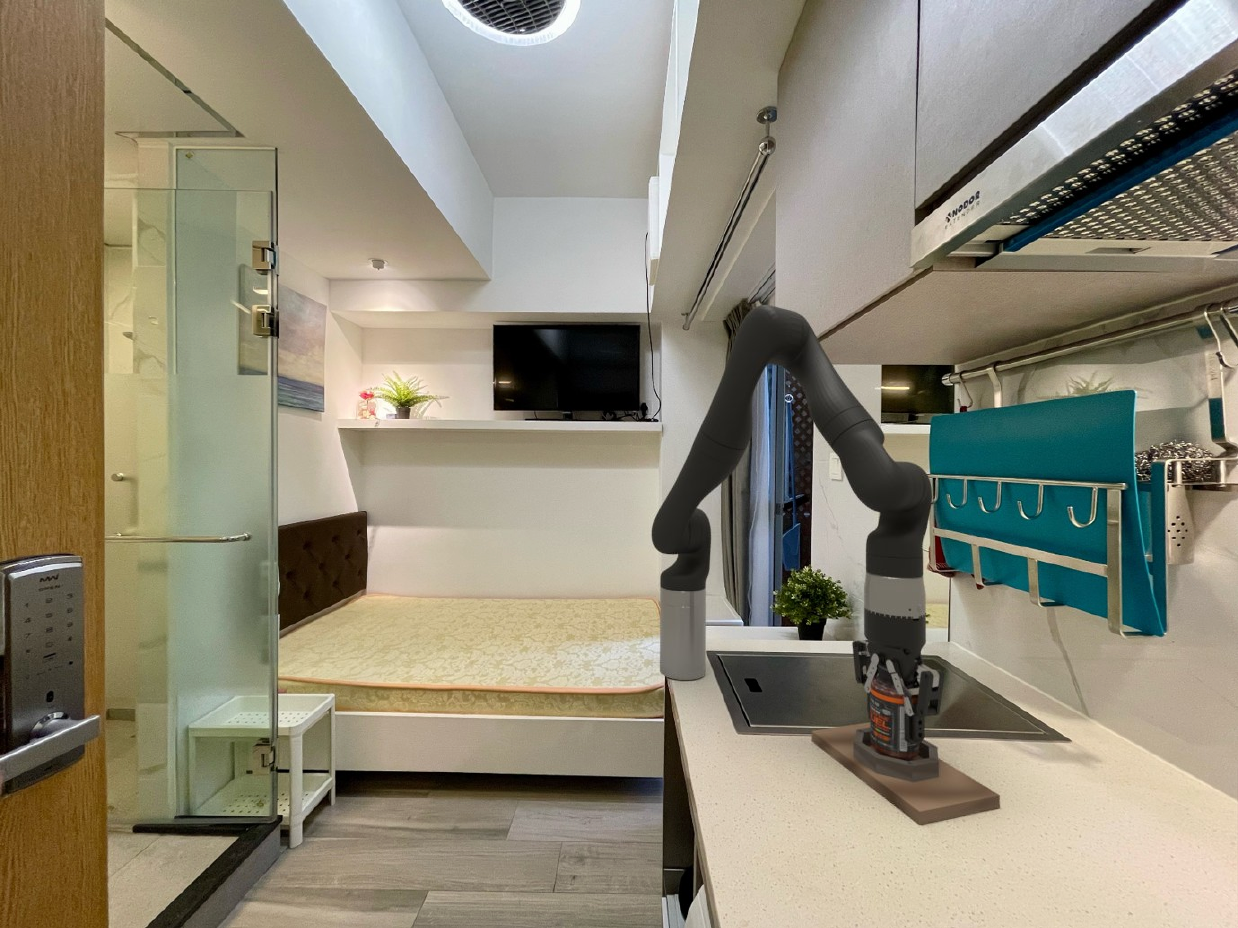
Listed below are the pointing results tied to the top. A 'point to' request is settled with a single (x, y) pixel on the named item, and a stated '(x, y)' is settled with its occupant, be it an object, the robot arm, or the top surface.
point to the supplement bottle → (889, 718)
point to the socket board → (908, 793)
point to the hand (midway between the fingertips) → (894, 730)
